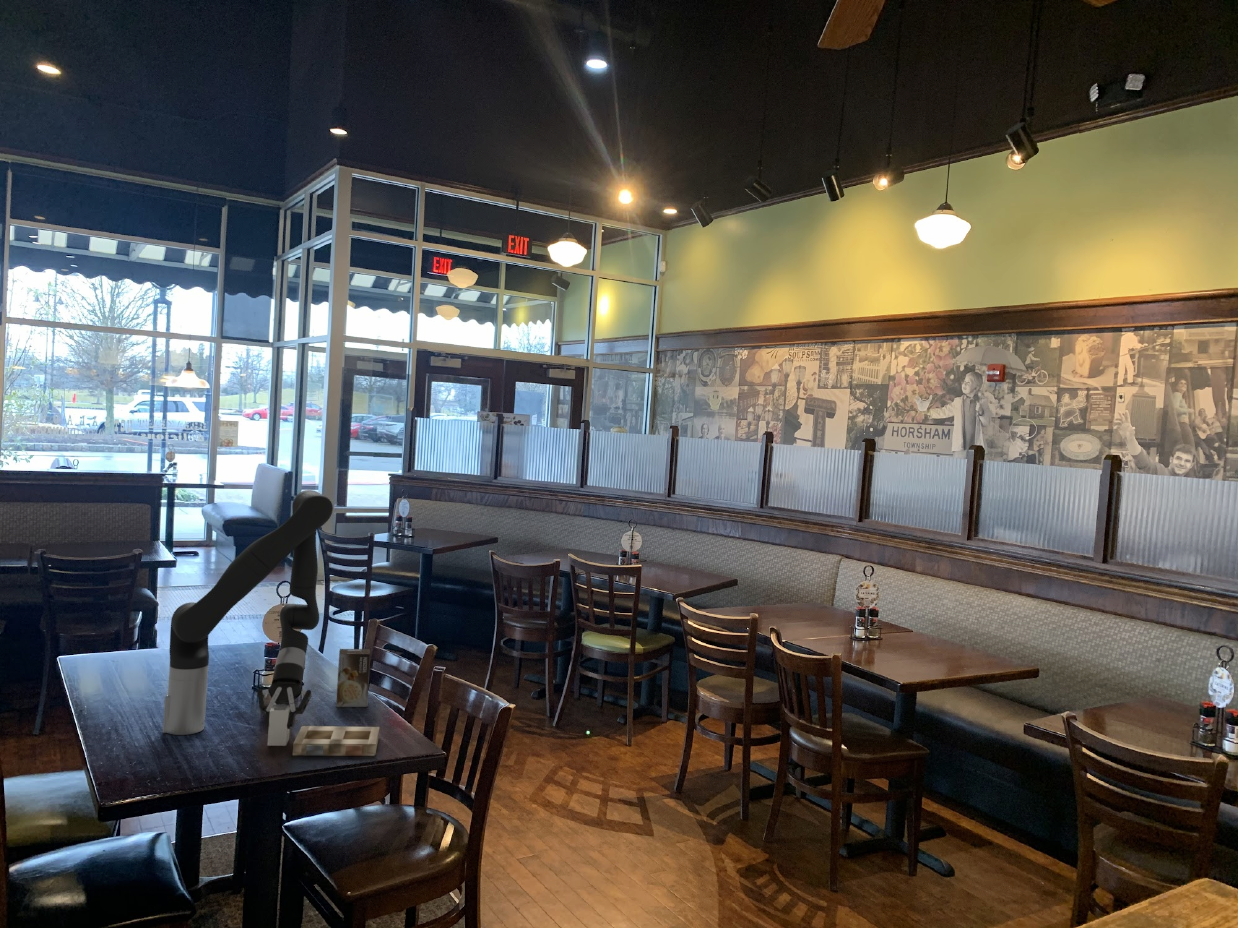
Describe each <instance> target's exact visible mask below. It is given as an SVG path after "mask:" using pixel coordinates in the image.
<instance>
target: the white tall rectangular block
mask: <svg viewBox="0 0 1238 928" xmlns="http://www.w3.org/2000/svg"><path fill="white" fill-rule="evenodd" d="M290 711H291V710H290V705H287V704H276V705H275V706H274V707H272V708H271V710H270V715H269V729H267V730H268V734H267V746H269V747H271V746H273V747H275V746H276V747H277V746H278V747H280V746H283V747H285V746H287V744H288V742H289V740H290V731H291V728H290V729H287V723H288V718H289V712H290Z"/></svg>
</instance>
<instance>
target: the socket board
mask: <svg viewBox="0 0 1238 928" xmlns="http://www.w3.org/2000/svg"><path fill="white" fill-rule="evenodd" d="M379 737H380V726H339V725H338V726H336V725H335V726H329V725H328V726H320V725H315V726H314V725H302V726H301V727H300V729H299V730H298V733H297V735H296V738H295V740H294V741H293V745H292V746H293V747H292V756H335V757H337V756H338V757H339V756H340V757H341V756H346V757H347V756H349V757H350V756H358V757H359V756H360V757H361V756H365V757H368V756H370V757H371V756H372V757H374V756H376V752H377V748H378V742H379Z"/></svg>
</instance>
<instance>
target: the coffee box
mask: <svg viewBox="0 0 1238 928" xmlns="http://www.w3.org/2000/svg"><path fill="white" fill-rule="evenodd" d="M338 653H339V654H338V655H339V656H338V667H337V684H336V685H337V686H336V704H335V706H336V708H353V707H354V708H355V707H356V708H361V707H362V708H363V707H368V704H369V703H368V701H369V699H368V698H369V685H370V683H369V681H370V663H371V662H370V661H371V649H370V648H339V651H338Z"/></svg>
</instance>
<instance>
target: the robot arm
mask: <svg viewBox="0 0 1238 928" xmlns="http://www.w3.org/2000/svg"><path fill="white" fill-rule="evenodd" d="M291 507H292V508H291V509H292V515H291V516H290V517H289V518H287V520H286V521H285V522H284V523H282V524H281V525H280V526H279V527H277V528H276V529H274V530H272V531H271V532H269V533H267V534H265V535H264V536H263V535H262V537H260V538H258V539H257V540H255V541H253V542H252V543H251V544H249V545H248V546H247V547H246V548H245V549H244V550H243V551H242V552H241V553H239V555H237V556H236V557H235V558H234V559H233V561H231V563H230V564H229V565H228V566H227V568H226V569H225V570H224V572H223V574H222V575H221V576H220V578H219V579H218V581H217V582H216V583H215V585H214V586H213V587H212V588H211V589H210V590H209V591H208V592H207V593H206V594H205V595H204V596H203V597H201V598H200V599H199V600H198V601H197V602H192V601H191V602H186V603H184V604H181V605H180V606H178V607H176V609H175V611H174V612H173V614H172V616H171V621H170V630H169V631H170V633H169V635H170V636H169V671H168V684H167V685H168V687H167V694H166V695H165V697H164V707H163V724H162V734H166V733H167V734H170V735H175V736H184V735H185V736H186V735H192V734H197V733H199V732H202V731H203V730H204V729H205V722H206V720H205V719H206V708H207V707H206V706H207V693H208V692H207V691H208V675H209V664H210V662H209V661H210V653H209V652H210V651H209V635H210V634H211V633H212V632H213V630H214V629H215V628H216V627H217V626H218V625H219V623H220V622H221V621H222V620H223V619H224V617H225V616H226V615H227V614H228V613H229V612H230V610H231V609H233V608H234V607H235V606H236V605H237V604H238V603H239V602H241V600H242V599H244V598H245V597H246V596H247V595H249V593H251V592H252V590H254V589H255V588H256V587H257V586H259V584H261V583H262V582H263V581H264V580H265V579H266V578H267V577H268V576H269V575H270V574H271V573H272V572H273V571H274V570H275V569H276V568H277V567H278V566H279V565H280V564H281V563H282V562H283V561H284V560H285V559H286V558H287V557H289V555H290V554H291V553H293V554H292V564H291V574H290V581H289V594H290V595H291V596H292V597H294V598H298V599H301V600H303V601H304V602H305V603H306V604H300V603H288V604H285V605H284V606H283V607H282V608H281V609H280V612H279V623H280V627H281V628H280V629H281V639H280V640H281V642H280V646H279V651H278V654H277V658H276V661H275V665H274V670H273V675H272V680H271V684H270V685H269V687H268V689H267V688H266V689H262V688H259V689H257V691H256V693H257V700H258V707H259V713H260V714H261V715H262V714H265V715H264V720H263V724H264V727H265V728H266V729H267V730H269V715H270V710H271V708H272V707H274V706H275V705H276V704H287V706H290V710H291V711H290V712H289V718H288V723H287V729H290V730H291V728H293V727H294V724H295V721H296V720H295V719H296V716H297V715H299V714H300V715H303V714H304V713H305V710H306V708H307V706H308V705H309V703H310V700H311V698H312V691H311V689H307V690H306V689H305V690H304V689H303V687H302V685H303V684H302V683H303V677H304V673H305V670H306V662H307V661H306V656H307V652H308V651H307V650H308V645H309V637H308V635H307V634H306V633H304V632H303V630H304V631H312V630H314V629H315V628H316V627H317V626H318V624H319V622H320V611H319V607H318V601H317V581H318V570H319V567H318V565H319V563H318V553H317V530H319V529H320V528H321V527H323V525H325V524H326V523H327V522H328V521H329V520H330V518H331V517H332V514H333V510H334V508H333V507H334V506H333V503H332V501H331V499H330V498H329V497H327V496H326V495H324V494H322V493H320V492H318V491H316V490H313V489H306V490H301V492H299V493H297V495H296V496H294V499H293V502H292V506H291ZM299 630H300V631H299ZM301 630H302V631H301ZM267 695H269V696H270V701H269V704H268V705H267V706H265V699H267ZM300 696H301V701H300V703H299V705H298V706H297V707H296V705H295V701H296V700H297V699H298V698H299V697H300Z"/></svg>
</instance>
